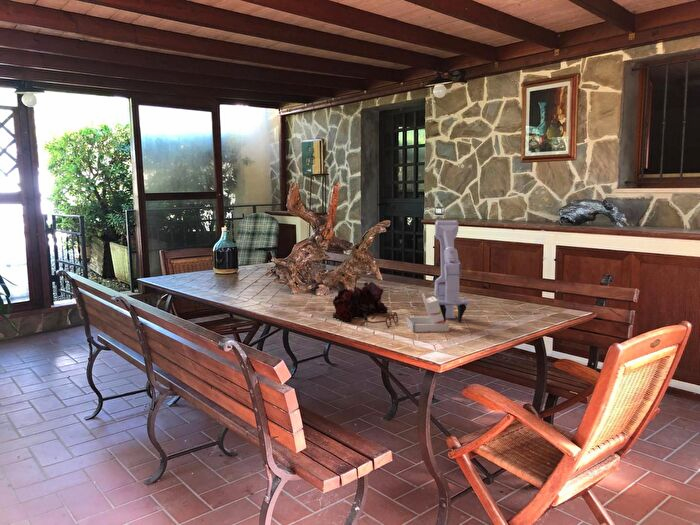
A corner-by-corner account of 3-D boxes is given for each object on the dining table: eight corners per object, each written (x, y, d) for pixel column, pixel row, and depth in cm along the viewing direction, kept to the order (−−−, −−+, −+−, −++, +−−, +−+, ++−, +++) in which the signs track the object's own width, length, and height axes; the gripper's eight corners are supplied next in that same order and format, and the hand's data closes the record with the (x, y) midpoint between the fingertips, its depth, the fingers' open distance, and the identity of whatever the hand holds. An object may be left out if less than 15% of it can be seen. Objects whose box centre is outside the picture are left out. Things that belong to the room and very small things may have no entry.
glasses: (387, 329, 229) (387, 317, 229) (359, 326, 235) (359, 314, 234) (398, 322, 241) (398, 311, 240) (371, 319, 246) (371, 308, 246)
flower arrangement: (355, 324, 237) (355, 290, 235) (321, 318, 249) (320, 285, 247) (394, 311, 261) (394, 280, 259) (361, 306, 273) (361, 277, 271)
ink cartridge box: (446, 325, 226) (435, 293, 224) (435, 329, 226) (424, 297, 224) (442, 320, 235) (431, 289, 233) (431, 324, 235) (420, 293, 232)
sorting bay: (406, 323, 236) (406, 316, 236) (440, 322, 238) (440, 315, 237) (412, 332, 223) (413, 323, 222) (448, 331, 224) (449, 323, 223)
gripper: (437, 292, 224) (437, 324, 226) (472, 292, 226) (471, 324, 227) (433, 289, 231) (433, 320, 233) (467, 289, 233) (466, 320, 234)
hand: (451, 322), depth 231 cm, fingers open, 6 cm apart
